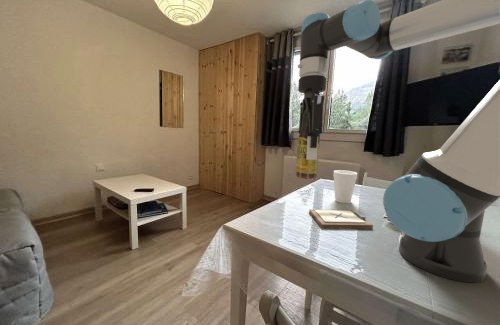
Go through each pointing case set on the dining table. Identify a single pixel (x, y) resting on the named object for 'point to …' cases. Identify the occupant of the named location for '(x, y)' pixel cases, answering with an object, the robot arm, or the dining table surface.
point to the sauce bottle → (305, 154)
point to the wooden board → (340, 219)
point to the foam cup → (344, 185)
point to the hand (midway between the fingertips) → (307, 158)
